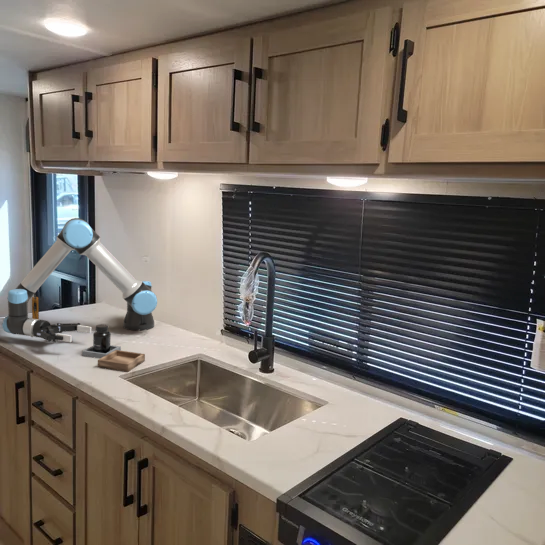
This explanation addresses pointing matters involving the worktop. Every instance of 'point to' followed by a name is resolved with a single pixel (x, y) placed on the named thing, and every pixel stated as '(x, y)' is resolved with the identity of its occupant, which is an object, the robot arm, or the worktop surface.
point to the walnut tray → (121, 360)
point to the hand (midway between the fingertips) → (81, 334)
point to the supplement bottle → (101, 339)
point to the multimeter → (35, 307)
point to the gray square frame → (90, 353)
